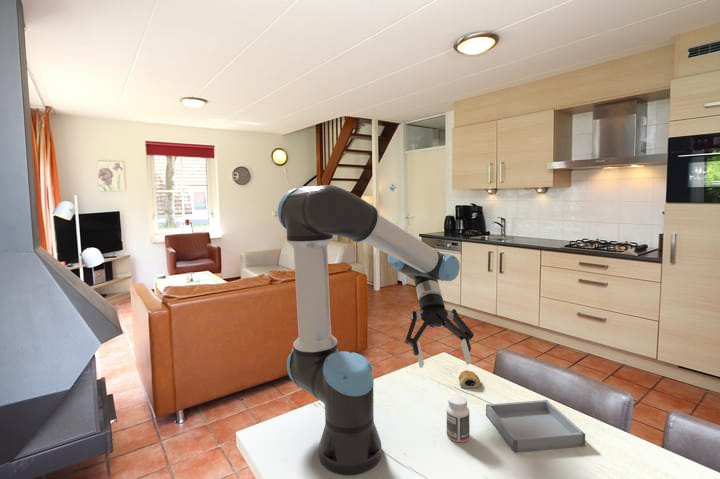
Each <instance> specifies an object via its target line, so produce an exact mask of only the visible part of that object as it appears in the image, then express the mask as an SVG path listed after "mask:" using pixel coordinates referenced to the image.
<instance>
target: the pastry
mask: <svg viewBox="0 0 720 479" xmlns="http://www.w3.org/2000/svg"><path fill="white" fill-rule="evenodd" d="M458 380H459V384H458V385H459V386H460V387H461V388H464V389H477V388H479V387H480V386H481V380H480V378H479V376H478V374H476V372H473V371H470V370H467V369H465V370H463V371H461V372H460V374H459V376H458Z"/></svg>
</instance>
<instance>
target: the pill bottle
mask: <svg viewBox="0 0 720 479" xmlns="http://www.w3.org/2000/svg"><path fill="white" fill-rule="evenodd" d="M447 402H448V405H447V407H446V436H447V437H448V438H449V439H450V440H451V441H453V442H457V443H463V442H467V441H468V440H469V439H470V435H471V434H470V427H471V426H470V409H469V407H468V399H467V398H466V397H465V396H463V395H459V394H452V395H450V396H449V397H448V399H447Z"/></svg>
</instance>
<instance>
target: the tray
mask: <svg viewBox="0 0 720 479" xmlns="http://www.w3.org/2000/svg"><path fill="white" fill-rule="evenodd" d="M485 416H486V418H487V419H488V420H489V421H490V423H491V424H492V426H493V427H494V428H495V429H496V431H497V432H498V433H499V435H500V436H501V437H502V438H503V440H504V441H505V443H506V444H507V445H508V447H510V449H511V450H512V451H513V453H514V454H516V453H525V452H537V451H547V450H548V451H549V450H559V449H569V448H577V447H578V448H580V447H586V433H585V432H584V431H583V430H581V429H580V428H579V427H578V425H576V424H575V423H574V422H572V420H570V418H568V417H567V416H566V415H565V414H563V413H562V412H561V410H559V409H558V408H557V407H556V406H554V405H553V404H552V403H551V402H550V401H549V400H548V399H542V400H541V399H540V400H531V401H530V400H529V401H515V402H514V401H513V402H503V403H501V402H500V403H490V404H486V405H485Z"/></svg>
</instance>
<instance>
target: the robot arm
mask: <svg viewBox="0 0 720 479" xmlns="http://www.w3.org/2000/svg"><path fill="white" fill-rule="evenodd" d="M277 216H278V220H279V223H280V224H281V225H282V227H283V228H285V230H286V242H288V244H289V245H291V247H292V248H293V260H294V278H295V294H296V314H297V331H298V332H297V333H298V337H297V338H296V339H295V340H294V341H293V345H292V346H293V347H292V349H291V353H290V354H288V357H287V359H286V360H287V361H286V370H287V374H288V377H289V378H290V379H291V380H292V382H293V383H294V384H295V385H296V386H297V387H298V388H300V389H302V390H303V391H305V392H307V393H308V394H310V395H311V396H313V397H314V398H315V399H317V400H319V401H320V402H321V403H323V404H324V418H325V424H324V428H323V431H322V435H321V437H320V440H319V443H318V457H319V460H320V463H321V464H322V465H323V466H324V467H325V468H326V469H327V470H328V471H331V472H333V473H335V474H340V475H356V474H357V475H358V474H362V473H365V472H367V471H369V470H371V469H373V468H374V467H375V466H377V465H378V463H379V462H380V460H381V457H382V454H383V452H382V450H383V449H382V441H381V438H380V435H379V432H378V430H377V427H376V424H375V420H374V417H375V416H374V410H375V408H374V405H375V404H374V382H375V381H374V380H375V379H374V375H373V373H374V372H373V368H372V367H373V366H372V363H371V362H370V361H369V359H368V358H366V356H364V355H362V354H361V353H357V352H355V351H354V352H350V351H348V350H347V351H346V350H345V351H339V349H338V338H336V337H335V336H334V335H333V334H332V323H331V302H330V301H331V300H330V281H329V280H330V278H329V260H328V245H330V242H332V241H333V236H336V237H337V236H339V237H343V238H346V239H349V240H351V241H353V242H355V243H361V242H364V243H365V244H367V245H370V246H371V247H372V248H375V249H377V250H378V251H381V252H383V253H385V254H386V255H387V263H388V265H389V266H390V267H392V269H394V270H395V271H398V272H400V273H401V274H403V275H405V276H407V277H408V278H410V279H411V280H413V281H414V285H415V290H416V295H417V299H418V305H419V309H420V310H419V311H420V312H417V311H415V310H414V311H413V310H412V313H411V315H410V316H411V323H410V325H409V328H408V331H407V334H406V338H405V340H404V343H405V344H409V345H410V346H411V347H412V352H413V355H414V356H417V362H418V366H419V368H421V369H422V368H423V367H424V365H425V362H424V357H423V352H422V347H421V342H420V341H419V340H420V338H421V337H422V335H423V333H424V332H425V330H426V329H427V327H428V326H429V327H431V328H434V327H438V328H439V327H444V328H445V329H447V330H448V331H450V332H451V333H452V334H453V335H454V336H456V338H458V339H459V340H460V341H461V342H460V346H461V349H462V353H463V357H464V360H465V364H466V366H467V365H470V363H471V362H472V358H471V354H470V352H471V350H472V347H471V343H470V341H472V339H473V338H474V336H475V334H474V332H473V331H472V329H470V328H469V326H468V325H467V324H466V322H464V321H463V319H462V318H461V317H460V316H459V314H458V312H457V309H455V308H453V309H452V310H450V311H448V310H446V307H445V303H444V299H443V295H442V291H441V287H440V283H439V281H441V282H443V281H444V282H452V281H454V280H455V279H456V278H457V277H458V276H459V272H460V269H461V268H460V267H461V266H460V262H459V259H458V257H457V256H455V255H452V254H449V253H442V252H440V251H438V250H436V249H434V248H433V247H432V246H430V245H428V244H426V243H425V242H423V241H421V240H420V239H419V238H417V237H416V236H414V235H412V234H411V233H409V232H407V231H406V230H405V229H403V228H401V227H399V226H397V224H395V223H393V222H392V221H389V220H388V219H386V218H385V217H383V216H382V215H380V214H379V210H378V209H377V208H376V207H375V206H374V205H372V204H371V203H369V202H368V201H366V200H364V199H363V198H361V197H359V196H357V195H356V194H354V193H352V192H350V191H349V190H347V189H344V188H342V187H339V186H336V185H332V184H325V185H324V184H323V185H315V186H309V185H308V186H299V187H296V188H293V189H290V190H289V191H287V192H286V193H285V194H284V195H283V196H282V198H280V201H279V204H278V206H277ZM448 317H449V318H448ZM419 319H421V320H422V321H423V323H422V325H421V326H420V328H419V329H418V330H417V332H416V333H415V335H414V337H413V338H412V335H413V333H414V332H413V331H414V328H415V327H416V326H415V325H416V322H418V321H419ZM451 319H452V321H453V323H452V321H451Z"/></svg>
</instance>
